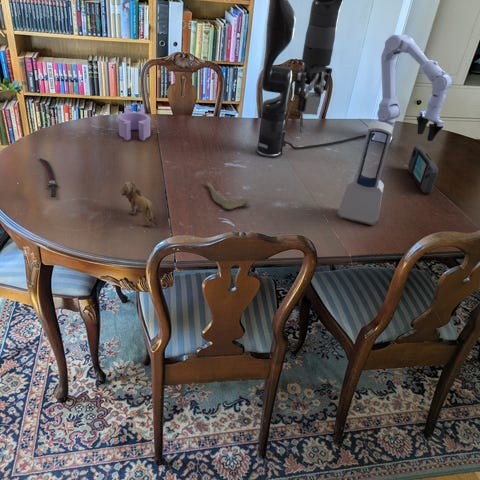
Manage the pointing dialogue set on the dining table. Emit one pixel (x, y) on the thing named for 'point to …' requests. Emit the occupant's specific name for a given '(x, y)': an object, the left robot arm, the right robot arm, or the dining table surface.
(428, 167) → the handheld gaming console
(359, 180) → the electronic device
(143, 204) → the lion figurine
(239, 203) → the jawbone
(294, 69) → the dark upright piece
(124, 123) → the clip
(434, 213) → the dining table surface
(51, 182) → the sword
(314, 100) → the gray block
